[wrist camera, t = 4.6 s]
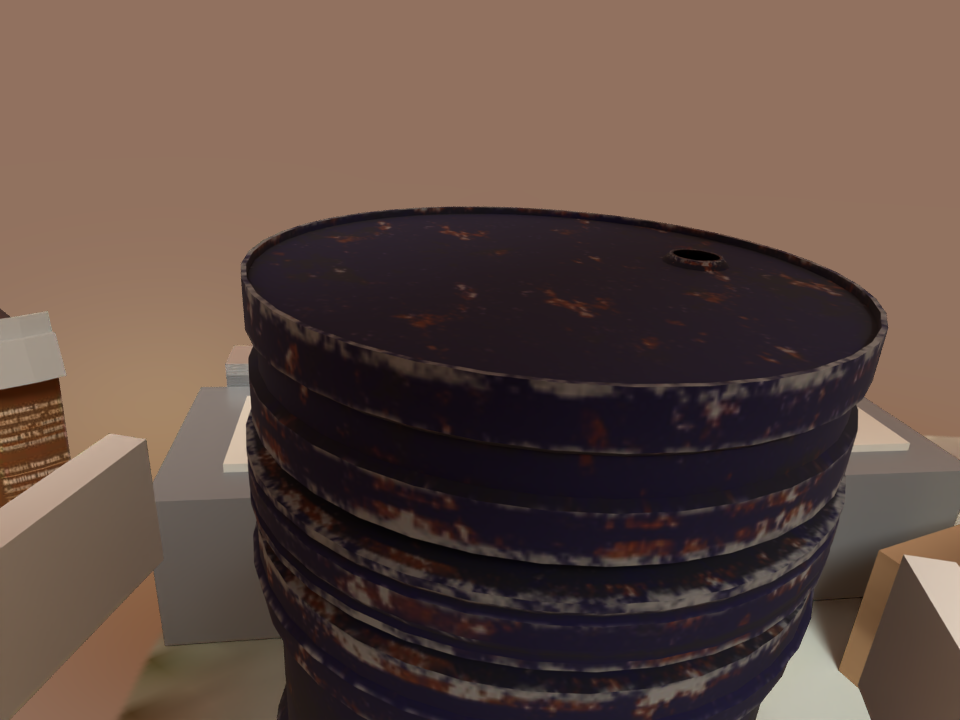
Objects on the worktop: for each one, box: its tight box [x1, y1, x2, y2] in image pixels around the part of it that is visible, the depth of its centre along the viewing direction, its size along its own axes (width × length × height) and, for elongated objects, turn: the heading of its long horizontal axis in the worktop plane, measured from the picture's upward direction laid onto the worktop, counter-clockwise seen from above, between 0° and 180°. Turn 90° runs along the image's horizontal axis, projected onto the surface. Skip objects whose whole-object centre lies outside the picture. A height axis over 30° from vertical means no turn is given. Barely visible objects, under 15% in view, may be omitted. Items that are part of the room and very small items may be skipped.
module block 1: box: [153, 387, 281, 646], centre depth 26 cm, size 8×8×6 cm
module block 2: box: [813, 397, 960, 600], centre depth 29 cm, size 8×7×6 cm
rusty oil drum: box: [241, 207, 888, 720], centre depth 14 cm, size 10×10×15 cm
